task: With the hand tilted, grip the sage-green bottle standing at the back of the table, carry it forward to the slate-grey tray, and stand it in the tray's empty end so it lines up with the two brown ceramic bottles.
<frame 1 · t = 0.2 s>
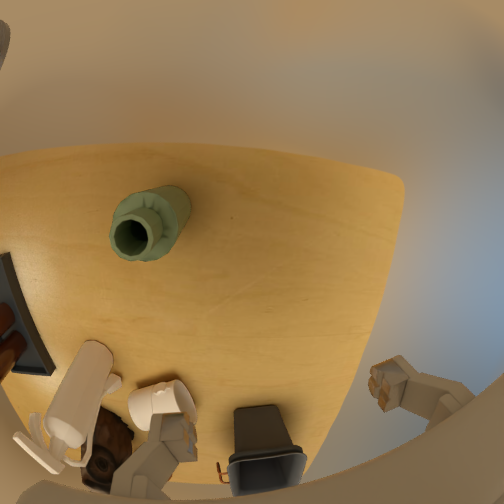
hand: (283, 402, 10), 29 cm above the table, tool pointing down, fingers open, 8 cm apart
bottle row: (8, 318, 35), resting on tray
tray: (10, 316, 35), on the table
fire extinguisher: (100, 358, 40), on the table
mug: (167, 395, 44), on the table
brown rock chunk: (107, 423, 45), on the table
green bottle: (169, 207, 35), on the table
storage bin: (250, 428, 49), on the table
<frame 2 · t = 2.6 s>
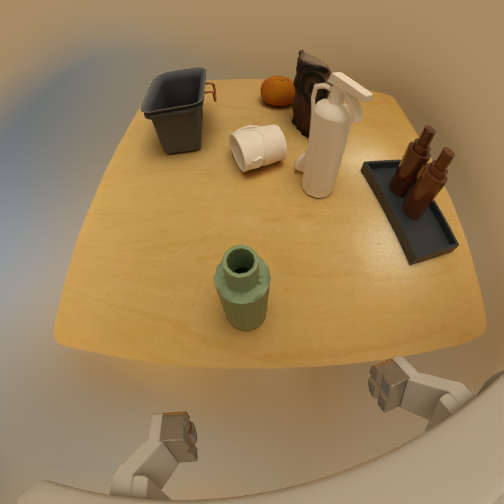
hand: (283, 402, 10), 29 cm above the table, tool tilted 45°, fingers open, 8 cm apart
bottle row: (409, 206, 51), resting on tray
tray: (407, 208, 51), on the table
fire extinguisher: (314, 183, 54), on the table
mug: (255, 157, 58), on the table
brown rock chunk: (316, 127, 64), on the table
fruit: (278, 102, 70), on the table
green bottle: (246, 312, 42), on the table
storage bin: (189, 132, 63), on the table
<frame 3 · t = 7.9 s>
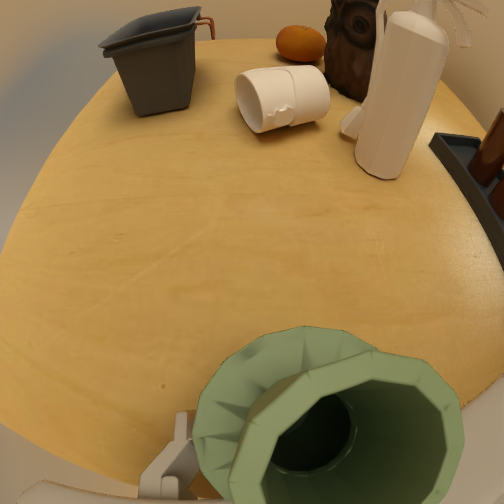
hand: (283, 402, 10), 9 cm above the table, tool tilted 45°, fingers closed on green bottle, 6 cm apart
bottle row: (495, 200, 27), resting on tray
tray: (493, 204, 28), on the table
fire extinguisher: (372, 157, 31), on the table
mug: (276, 117, 35), on the table
brown rock chunk: (356, 88, 40), on the table
fruit: (300, 59, 46), on the table
green bottle: (273, 404, 18), on the table, touching gripper
storage bin: (175, 90, 40), on the table
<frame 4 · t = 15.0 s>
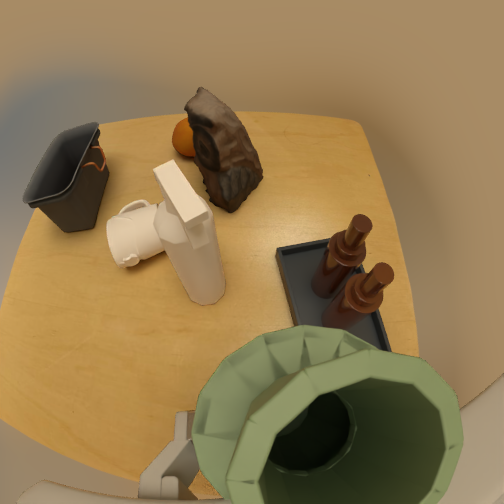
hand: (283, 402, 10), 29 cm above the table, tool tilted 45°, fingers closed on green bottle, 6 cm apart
bottle row: (334, 313, 41), resting on tray
tray: (333, 314, 41), on the table
fire extinguisher: (204, 281, 44), on the table
mug: (145, 241, 48), on the table
brown rock chunk: (232, 186, 54), on the table
fruit: (198, 148, 60), on the table
green bottle: (273, 403, 18), point 20 cm above the table, touching gripper
storage bin: (91, 200, 53), on the table
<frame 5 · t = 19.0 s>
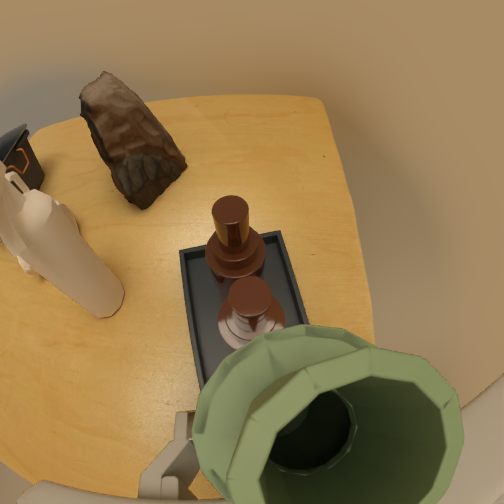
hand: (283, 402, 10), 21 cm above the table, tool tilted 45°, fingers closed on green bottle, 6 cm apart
bottle row: (250, 336, 31), resting on tray
tray: (250, 338, 31), on the table
fire extinguisher: (104, 290, 34), on the table
mug: (60, 244, 38), on the table
brown rock chunk: (152, 179, 44), on the table
green bottle: (273, 403, 18), point 11 cm above the table, touching gripper
storage bin: (26, 204, 43), on the table
when the fingers open (10 cm above the table, at t = 22.3 s): green bottle stays where it is, resting on tray.
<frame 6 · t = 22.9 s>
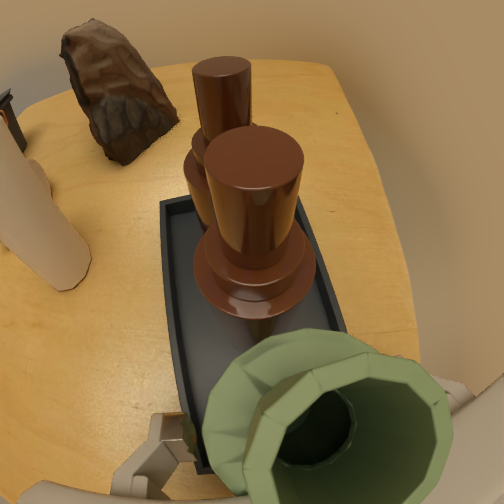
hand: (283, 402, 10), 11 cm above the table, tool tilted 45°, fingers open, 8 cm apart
bottle row: (252, 314, 22), resting on tray
tray: (252, 317, 23), on the table
fire extinguisher: (69, 257, 26), on the table
mug: (30, 211, 30), on the table
brown rock chunk: (138, 136, 35), on the table
green bottle: (275, 403, 19), point 1 cm above the table, touching tray
storage bin: (5, 174, 35), on the table
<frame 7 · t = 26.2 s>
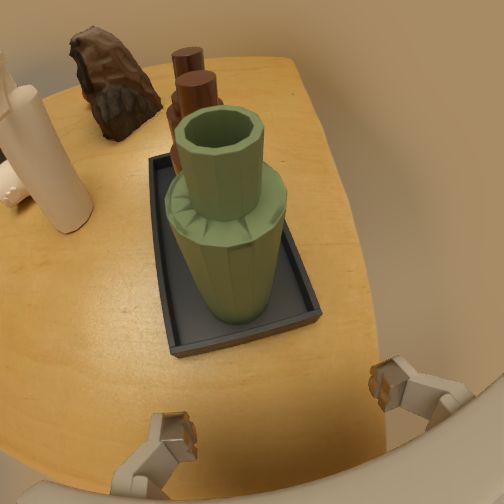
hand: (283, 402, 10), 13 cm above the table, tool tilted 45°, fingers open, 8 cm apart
bottle row: (217, 229, 29), resting on tray
tray: (218, 233, 30), on the table
fire extinguisher: (74, 209, 32), on the table
mug: (38, 182, 35), on the table
brown rock chunk: (129, 120, 42), on the table
green bottle: (236, 293, 25), point 1 cm above the table, touching tray
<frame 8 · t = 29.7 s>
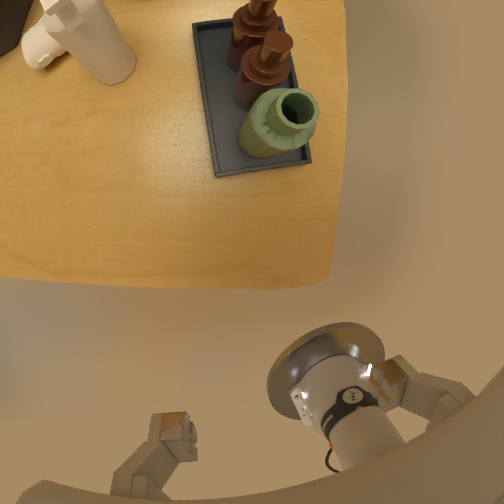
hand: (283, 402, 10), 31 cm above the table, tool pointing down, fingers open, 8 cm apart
bottle row: (248, 89, 33), resting on tray
tray: (248, 90, 34), on the table
fire extinguisher: (115, 62, 30), on the table
mug: (64, 39, 26), on the table
green bottle: (258, 137, 36), point 1 cm above the table, touching tray
storage bin: (17, 22, 21), on the table
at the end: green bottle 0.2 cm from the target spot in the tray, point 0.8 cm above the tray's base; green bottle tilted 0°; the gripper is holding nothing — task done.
